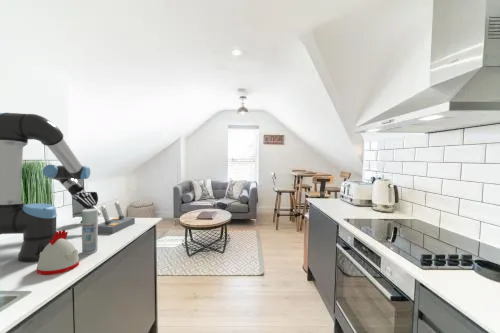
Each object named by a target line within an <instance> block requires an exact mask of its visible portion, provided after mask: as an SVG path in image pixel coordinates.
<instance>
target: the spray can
mask: <svg viewBox="0 0 500 333" xmlns="http://www.w3.org/2000/svg"><path fill="white" fill-rule="evenodd" d="M98 210H99V208H98V209H86V208H84V209H82V210H81V221H82V223H81V238H82V239H81V244H82V245H81V246H82V247H81V248H82V249H81V250H82V254H85V255H86V254H87V255H88V254H94V253H96V252H97V251H98V247H99V246H98V244H99V243H98V241H99V240H98V239H99V237H98V236H99V235H98V234H99V233H98V224H99V222H98V221H99V216H98Z"/></svg>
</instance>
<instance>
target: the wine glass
mask: <svg viewBox="0 0 500 333" xmlns="http://www.w3.org/2000/svg"><path fill="white" fill-rule="evenodd" d="M89 192H90V193H91V196H92V197H93V199H94V200H95V202H96V205H95V206H96V207H97V204H98V203H99V195H98V192H96V191H86V193H89ZM83 208H84V209H88V208H85V207H83ZM80 223H81V224H82V220H81V221H80Z"/></svg>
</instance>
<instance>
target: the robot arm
mask: <svg viewBox="0 0 500 333" xmlns="http://www.w3.org/2000/svg"><path fill="white" fill-rule="evenodd" d="M64 138H65V136H64V134H63V132H62V131H61V129H60V128H59V127H58V126H57V125H56V124H54V123H53V122H52V121H51V120H49V119H47V118H46V117H44V116H41V115H39V114H35V113H18V112H16V113H14V112H0V235H12V234H13V235H14V234H16V235H17V234H23V235H22V236H23V239H22V241H23V242H22V244H21V245H20V246H21V247H20V249H19V250H20V251H19V252H18V255H17V259H18V261H19V262H23V263H29V262H30V263H31V262H32V263H33V262H38V261H39V258H40V252H42V251H43V250H44V248H45V247H46V246H47V245H48V244H49V243H50V241H49V240H52V241H53V237H52V236H55V234H56V232H57V216H58V214H57V209H56V207H55V205H53V204H49V203H43V202H42V203H41V202H40V203H39V202H38V203H35V202H34V203H26V204H24V201H22V199H21V188H22V187H21V186H22V184H21V183H22V173H23V172H22V168H23V155H24V147H25V146H27V145H28V143H29V140H34V141H35V140H36V141H39V142H40V143H41V144H42V145H43V146H46V147H47V148H48V149H49V150H50V151H51V153H52V154H53V155H54V156H55V157H56V159H57V160H58V161H59V162H60V164H61V165H55V164H47V165H45V166H44V167H43V168H42V175H43V176H44V177H45V178H48V179H51V180H56V181H59V184H61V185H62V186H63V187H64V188H65V190H66V191H68V193H69V194H70V195H71V196H73V197H72V199H73V200H75V201H76V202H77V203H79V204H80V205H81V206H82V207H83V208H84V207H85V208H84V209H86V208H88V209H98V217H99V216H100V215H102V211H101V210H100V209H99V208H98V207H97V205H96V202H95V200H94V199H93V197H92V196H91V193H90V192H91V191H88V192H89V193H86V192H87V191H85V190H84V186H83V185H82V184H81V183H80V182H79V181H78V180H87V179H89V178H90V176H91V169H90V167H89V166H87V165H82V164H81V161H79V160H78V158H77V157H76V155H75V154H74V152H73V151H72V149H71V148H70V146H69V145H68V144H67V142H66V140H65V139H64ZM95 205H96V206H95Z"/></svg>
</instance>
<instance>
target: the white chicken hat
mask: <svg viewBox="0 0 500 333" xmlns="http://www.w3.org/2000/svg"><path fill="white" fill-rule="evenodd" d="M68 234H69V232H68V231H66V230H65V229H62V230H58V231H56V234H55V236H52V237H53V241H52V240H49V241H50V243H49V244H48V245H47V246H46V247H45V248H44V250H43V251H42V252H40V258H39V261H37V266H36V273H37V274H38V275H42V276H51V275H58V274H59V275H60V274H63V273H66V272H69V271H72V270H74V269H76V268H78V266H79V265H80V258H79V255H78V253H79V252H78V249H76V247H75V245H74V244H73V243H71V242H70V241H69V240H67V236H68Z"/></svg>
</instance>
